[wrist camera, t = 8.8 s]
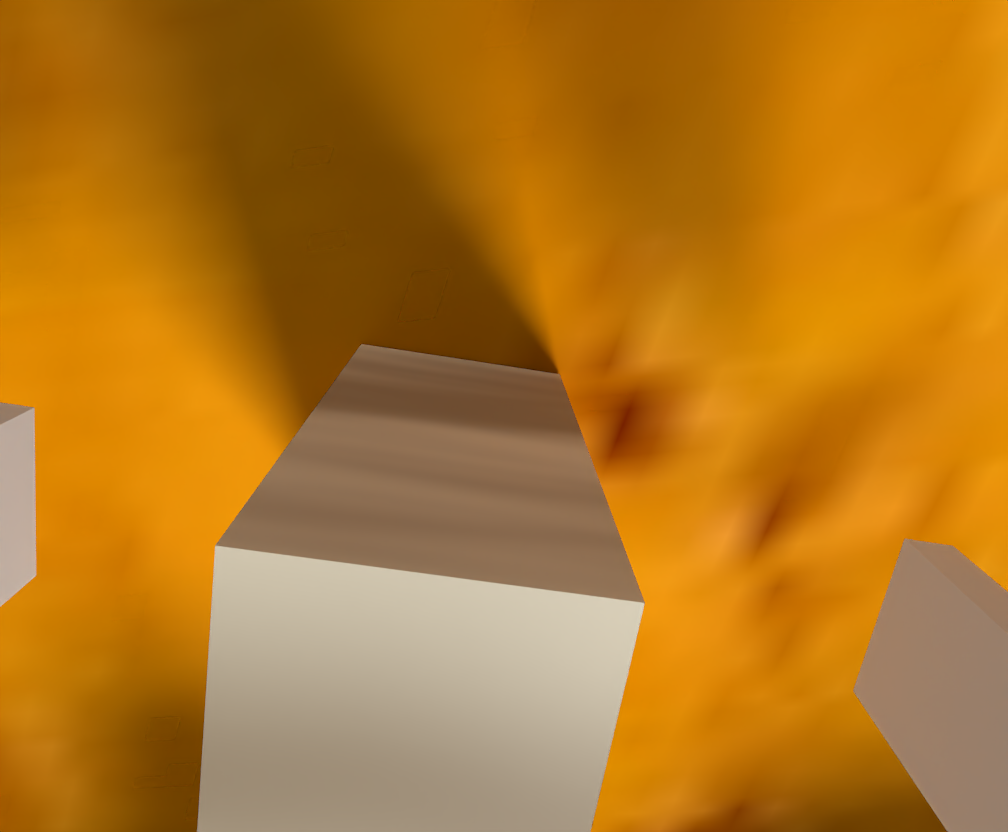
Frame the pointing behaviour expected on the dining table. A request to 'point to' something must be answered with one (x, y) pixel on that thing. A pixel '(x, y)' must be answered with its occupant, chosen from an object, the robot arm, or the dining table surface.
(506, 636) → the cream rod with blocks
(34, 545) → the robot arm
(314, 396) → the dining table surface
